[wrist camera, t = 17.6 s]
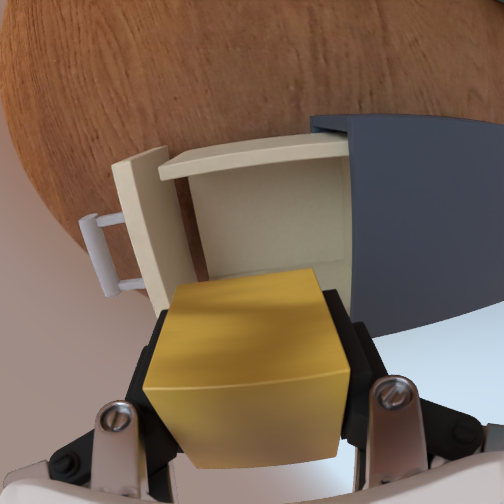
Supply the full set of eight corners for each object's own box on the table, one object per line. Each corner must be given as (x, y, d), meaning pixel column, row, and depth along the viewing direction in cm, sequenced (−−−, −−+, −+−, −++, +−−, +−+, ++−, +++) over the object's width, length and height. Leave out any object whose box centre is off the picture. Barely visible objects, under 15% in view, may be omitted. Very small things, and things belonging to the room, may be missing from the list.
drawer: (136, 293, 27) (108, 350, 19) (98, 162, 21) (43, 186, 14) (348, 266, 26) (380, 320, 19) (342, 122, 20) (387, 127, 13)
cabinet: (321, 271, 27) (351, 342, 18) (309, 116, 21) (350, 116, 12) (457, 249, 26) (512, 297, 18) (464, 118, 20) (538, 132, 12)
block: (207, 374, 12) (195, 469, 8) (176, 283, 10) (140, 388, 6) (315, 362, 12) (336, 457, 7) (312, 266, 10) (351, 369, 6)
